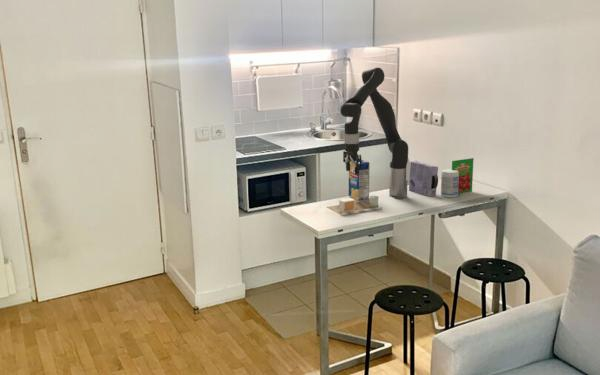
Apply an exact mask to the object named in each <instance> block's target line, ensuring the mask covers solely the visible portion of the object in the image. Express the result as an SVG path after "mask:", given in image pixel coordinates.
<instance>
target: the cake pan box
mask: <svg viewBox="0 0 600 375" xmlns="http://www.w3.org/2000/svg"><path fill="white" fill-rule="evenodd" d="M438 172H439V167H438V166H436V165H433V164H430V163H425V162H421V161H417V160H411V161H410V168H409V181H408V184H409V185H408V191H410V192H414V193H417V194H419V195H423V196H427V197H429V198H430V197H431V198H433V197H437V187H438V186H439V185H438V184H439V175H438V174H439V173H438Z"/></svg>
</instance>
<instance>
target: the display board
mask: <svg viewBox="0 0 600 375" xmlns="http://www.w3.org/2000/svg"><path fill="white" fill-rule="evenodd" d="M326 208H327V209H329V210H331V211H333V212H335V213H337V214H338V215H341V217H343V216H349V215H350V216H351V215H357V214H363V213H369V212H374V211H375V212H376V211H380V210H383V206H378V207H376V208H370V202H368V201H366V200H361V201H355V211H352V212H346V213H343V212H341V211H339V204H335V205H331V206H326Z"/></svg>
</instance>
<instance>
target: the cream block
mask: <svg viewBox="0 0 600 375" xmlns="http://www.w3.org/2000/svg"><path fill="white" fill-rule="evenodd" d="M355 202H356V199H354V198H352V197H349V198H342V199H339V201H338V203H339V204H338V205H339V211H341V212H343V213H346V212H352V211H355Z"/></svg>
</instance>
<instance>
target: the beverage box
mask: <svg viewBox="0 0 600 375" xmlns="http://www.w3.org/2000/svg"><path fill="white" fill-rule="evenodd" d="M361 161H362V166H360V167H359V174H355V166H354V164H353V163H352V162H350V163H349V164H350V171H348V197H349V198H352V199H354V200H355V201H356V200H357V202H360V201H366V200H370V161H367V160H364V159H361ZM359 164H360V162H359Z"/></svg>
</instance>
